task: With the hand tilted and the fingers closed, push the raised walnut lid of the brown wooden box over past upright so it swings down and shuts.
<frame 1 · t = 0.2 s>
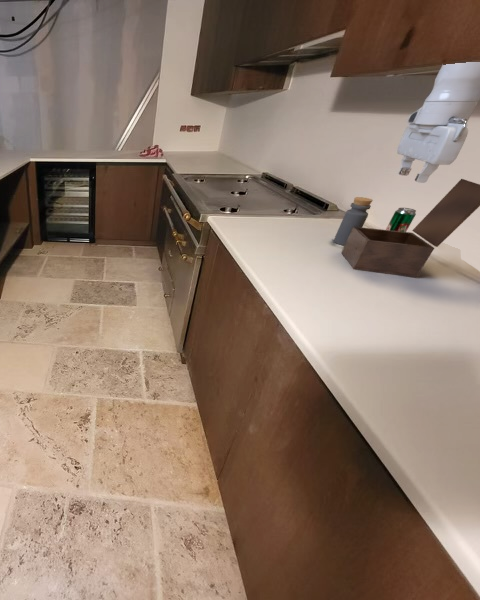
hand: (410, 178, 82), 25 cm above the worktop, tool pointing down, fingers open, 8 cm apart
bottle: (343, 243, 111), on the worktop
brown wooden box: (375, 264, 96), on the worktop
soda can: (388, 244, 110), on the worktop
lid: (449, 212, 84), point 17 cm above the worktop, hinge at 105.0°
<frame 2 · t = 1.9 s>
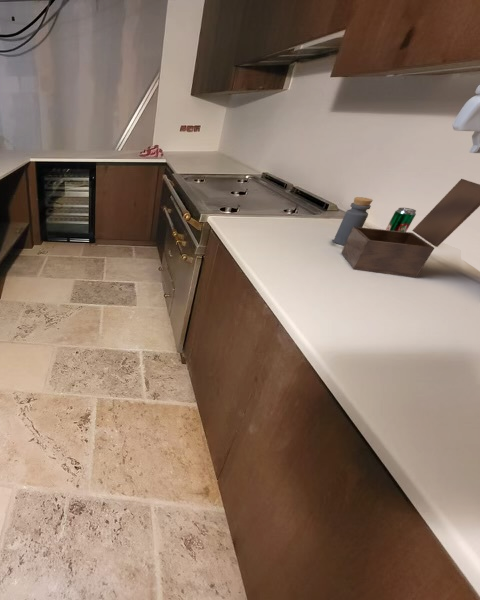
nothing on the worktop moved.
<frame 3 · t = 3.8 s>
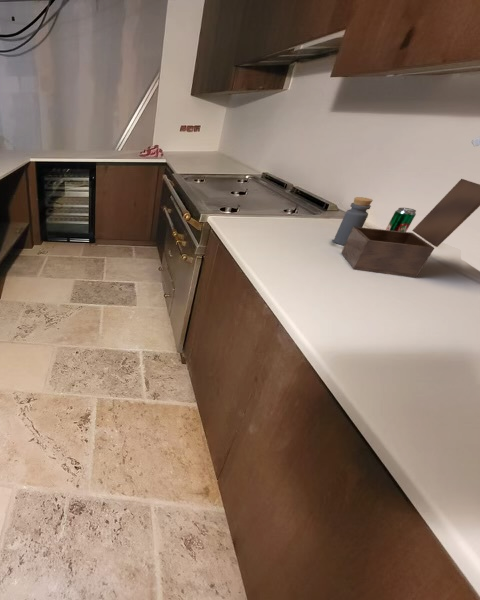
hand: (472, 143, 80), 33 cm above the worktop, tool tilted 50°, fingers closed
nothing on the worktop moved.
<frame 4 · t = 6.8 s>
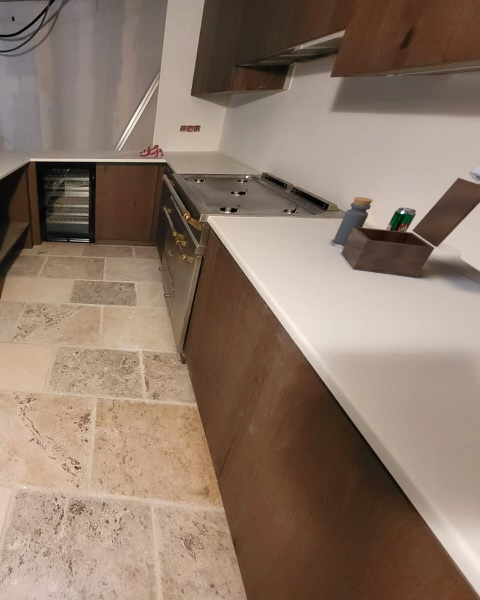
hand: (467, 195, 82), 21 cm above the worktop, tool tilted 45°, fingers closed
lid: (447, 212, 84), point 17 cm above the worktop, hinge at 102.2°
everything else where it was.
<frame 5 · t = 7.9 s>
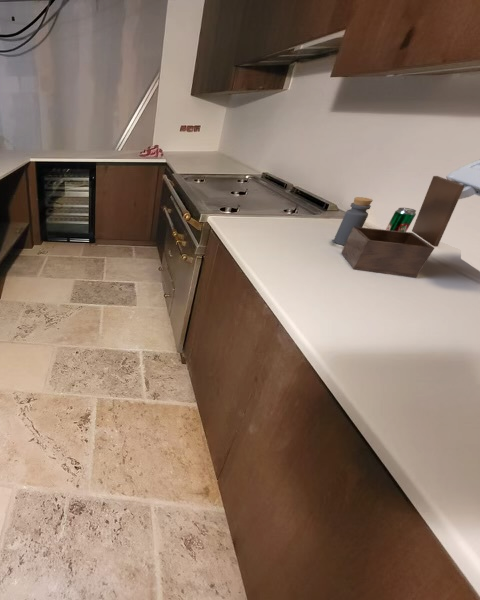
hand: (443, 200, 84), 20 cm above the worktop, tool tilted 45°, fingers closed
lid: (435, 210, 85), point 17 cm above the worktop, hinge at 82.5°, touching gripper
everything else where it was.
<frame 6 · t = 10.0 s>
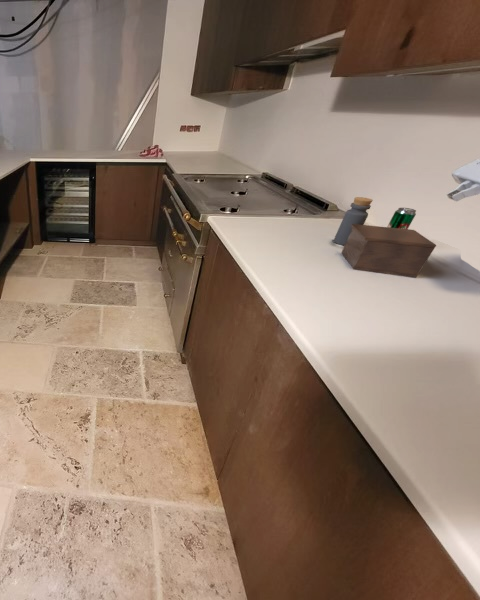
hand: (450, 197, 82), 21 cm above the worktop, tool tilted 45°, fingers closed
lid: (389, 234, 91), point 9 cm above the worktop, hinge at -0.2°
everything else where it was.
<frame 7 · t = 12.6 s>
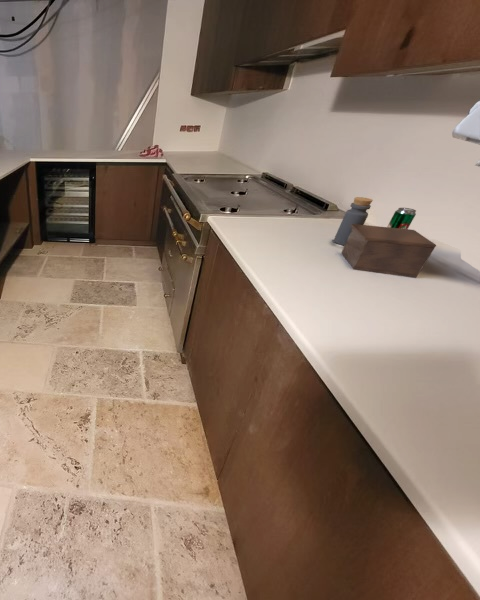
nothing on the worktop moved.
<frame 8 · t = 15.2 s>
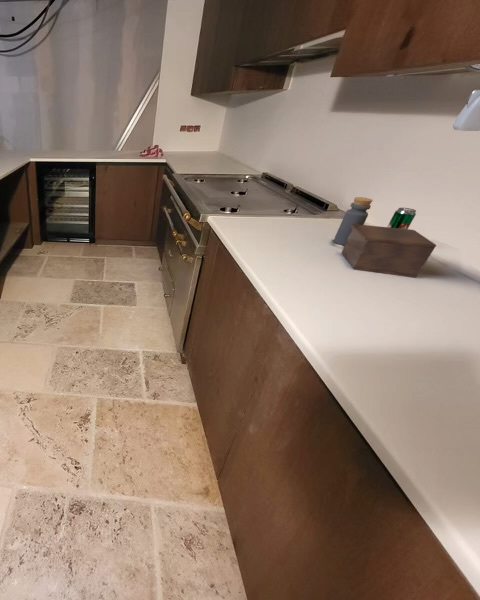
nothing on the worktop moved.
at the end: lid at +0° (first picture: +105°) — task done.
